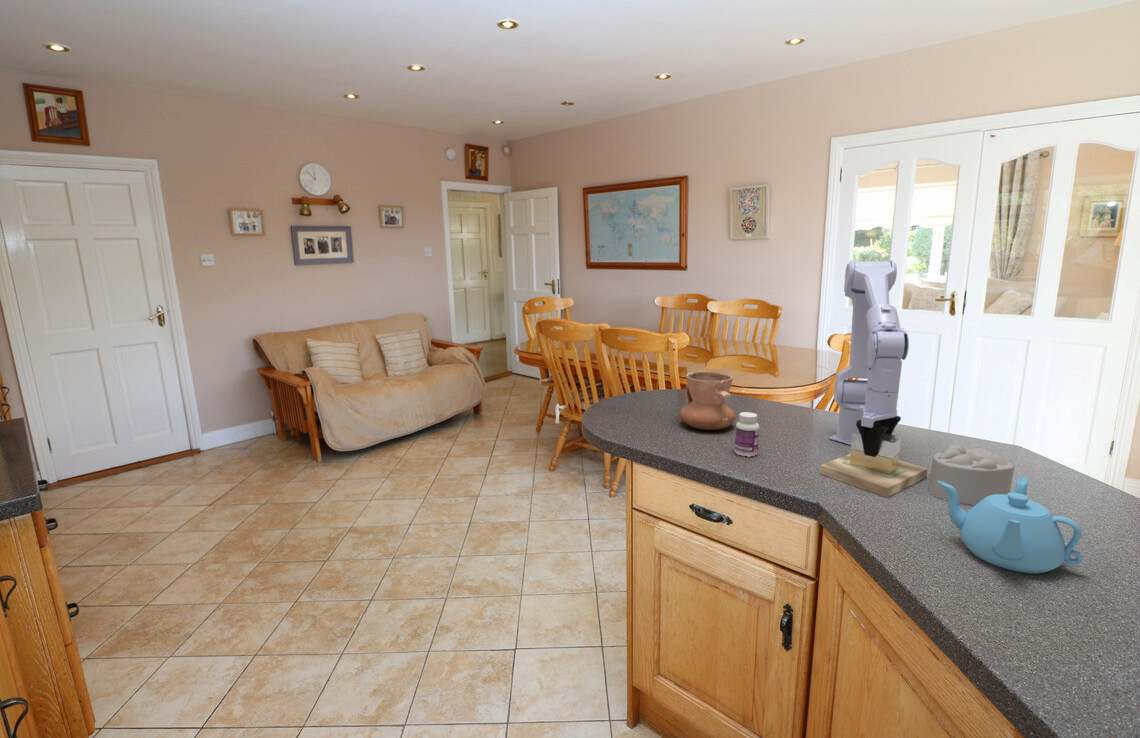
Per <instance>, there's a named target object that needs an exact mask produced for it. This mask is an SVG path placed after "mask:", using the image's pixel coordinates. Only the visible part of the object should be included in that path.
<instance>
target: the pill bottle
mask: <svg viewBox="0 0 1140 738" xmlns="http://www.w3.org/2000/svg"><path fill="white" fill-rule="evenodd" d="M738 420H739V421H737V422H736V424H735V438H734V453H735V454H736V455H737V456H740V455H741V456H740V457H745V456H747V457H746V458H749V457H750V458H752V457H751V456H753V457H755V455H756V456H757V455H758V454H759V443H760V424H759V423H758V422H757V421H758V414H757V413H754V412H750V411H742V412H740V413H739V416H738Z"/></svg>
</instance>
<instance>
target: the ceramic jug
mask: <svg viewBox="0 0 1140 738" xmlns="http://www.w3.org/2000/svg"><path fill="white" fill-rule="evenodd" d="M685 378H686V386H685V397H686V401H687V405H684V406H683V407H682V409H681V411H680V418H681V420H682V422H684V423H685V424H686V425H687V426H690V427H691V428H694V429H698V430H702V431H717V430H723V429H725V428H728V427H730V426H731V425H733V423H734V422H735V420H736V413H735V411H734V409H732V408H731V407H730V406H728V405H727V404H726V403H725V400H726V399H728V398H729V397H731V394H730V389H731V387H732V384H733V376H732V375H731V374H727V373H721V372H717V371H716V372H715V371H709V370H702V371H701V370H698V371H692V372H687V374H686V377H685Z"/></svg>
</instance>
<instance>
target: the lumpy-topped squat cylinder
mask: <svg viewBox="0 0 1140 738" xmlns="http://www.w3.org/2000/svg"><path fill="white" fill-rule="evenodd" d="M1014 469H1015V466H1014V464H1013V463H1012V462H1010V461H1007V460H1006V459H1005V458H1004V457H1003V456H1000V455H998V454H995V453H992V452H990V451H988V450H987V449H984V448H982V447H981V448H980V447H978V448H977V447H976V448H972V449H970V448H969V449H968V448H966V449H965V448H964V447H963V446H962V445H960V444H952V445H949V446H948V447H946V448H945V450H944V449H942V450H940V451H938V452H935V453H934V454H933V456H932V460H931V468H930V475H929V481H928V490H929V491H928V493H929V492H930V493H931V494H930V493H929V494H930V495H932V496H933V495H934V497H935V496H936V497H935V498H938V497H939V498H938V499H940V498H941V500H943V499H945V500H944V501H947V500H948V495H947V492H946V490H945V489H944V487H942V486H941V485H940V484H939V483H938V482H937V481H941V482H944V483H947V484H949V485H951V486H953V487H954V488H955V489H956V491H957V493H958V502H959V504H961V503H964V504H963V505H967V504H972V505H971V506H975V505H976V504H978V503H979V502H980V501H981V500H983V499H984V498H986V497H987V496H990V495H995V494H1004V495H1007V494H1008V493H1010V492H1011V488H1012V482H1013V477H1014Z"/></svg>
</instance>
